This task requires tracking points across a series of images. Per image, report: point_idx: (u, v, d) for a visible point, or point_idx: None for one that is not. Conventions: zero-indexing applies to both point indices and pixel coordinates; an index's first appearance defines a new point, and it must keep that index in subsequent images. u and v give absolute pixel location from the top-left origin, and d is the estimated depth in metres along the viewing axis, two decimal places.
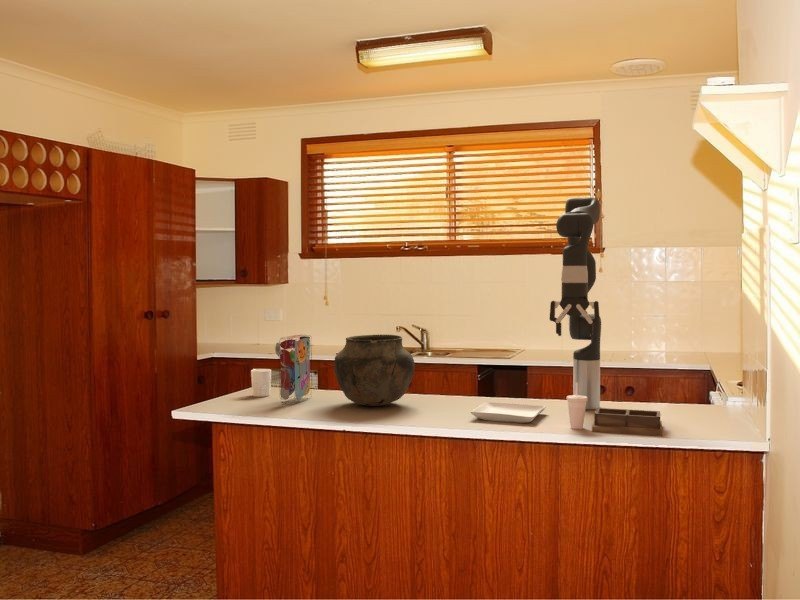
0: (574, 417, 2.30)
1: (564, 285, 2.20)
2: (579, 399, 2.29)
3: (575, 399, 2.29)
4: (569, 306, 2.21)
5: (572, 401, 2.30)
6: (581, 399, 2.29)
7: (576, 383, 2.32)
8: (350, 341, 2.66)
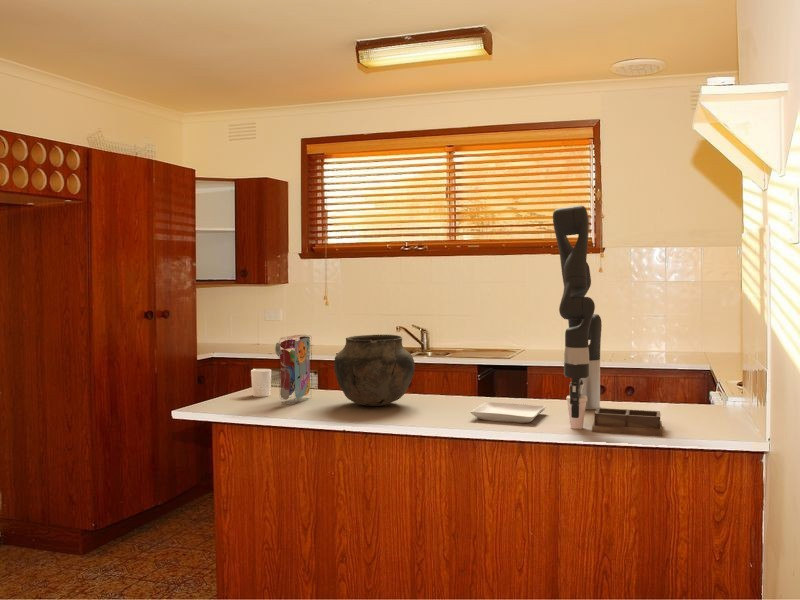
0: None
1: (585, 366, 2.28)
2: (579, 399, 2.29)
3: (575, 399, 2.29)
4: (582, 386, 2.30)
5: None
6: (581, 399, 2.29)
7: None
8: (350, 341, 2.66)
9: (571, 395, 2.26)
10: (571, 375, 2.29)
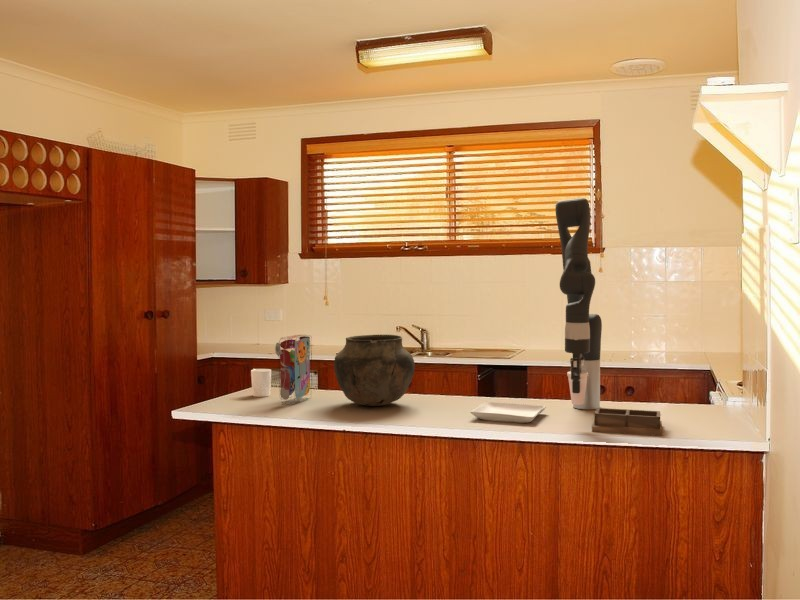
0: (575, 393, 2.30)
1: (585, 342, 2.28)
2: (580, 375, 2.29)
3: (576, 375, 2.29)
4: (583, 361, 2.30)
5: None
6: (582, 375, 2.29)
7: None
8: (350, 341, 2.66)
9: (572, 370, 2.26)
10: (572, 350, 2.28)
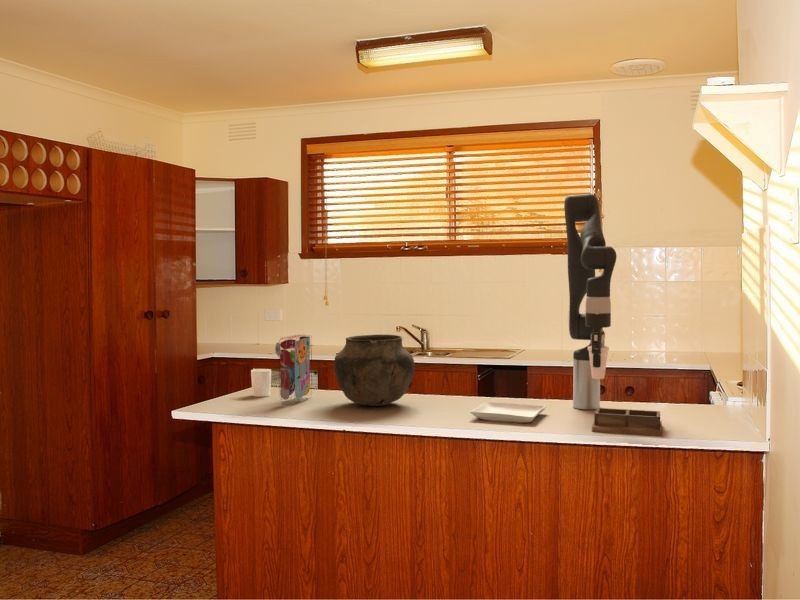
0: (595, 367, 2.30)
1: (606, 316, 2.28)
2: None
3: (596, 349, 2.29)
4: (604, 335, 2.30)
5: None
6: (602, 349, 2.29)
7: None
8: (350, 341, 2.66)
9: (593, 344, 2.26)
10: (593, 324, 2.28)
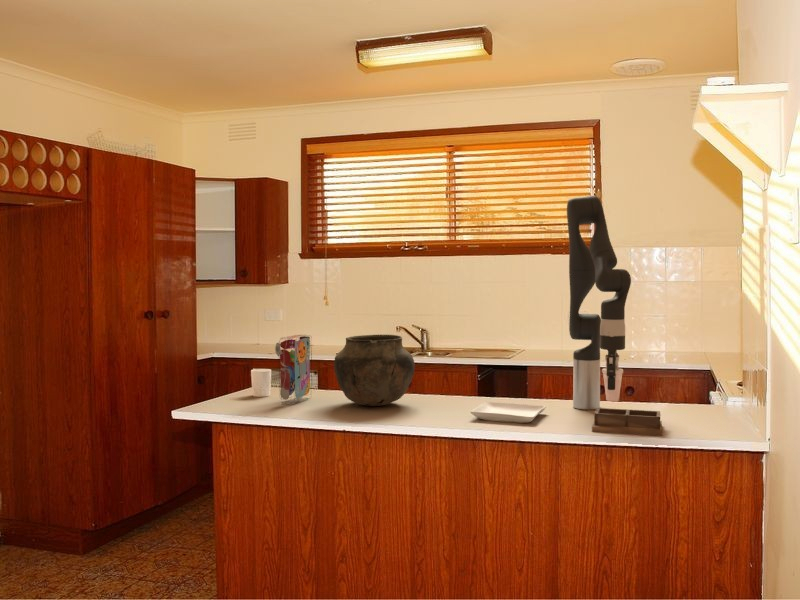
0: None
1: (621, 338, 2.28)
2: None
3: (611, 371, 2.29)
4: (618, 358, 2.30)
5: None
6: (617, 371, 2.29)
7: None
8: (350, 341, 2.66)
9: (608, 367, 2.26)
10: (607, 347, 2.29)
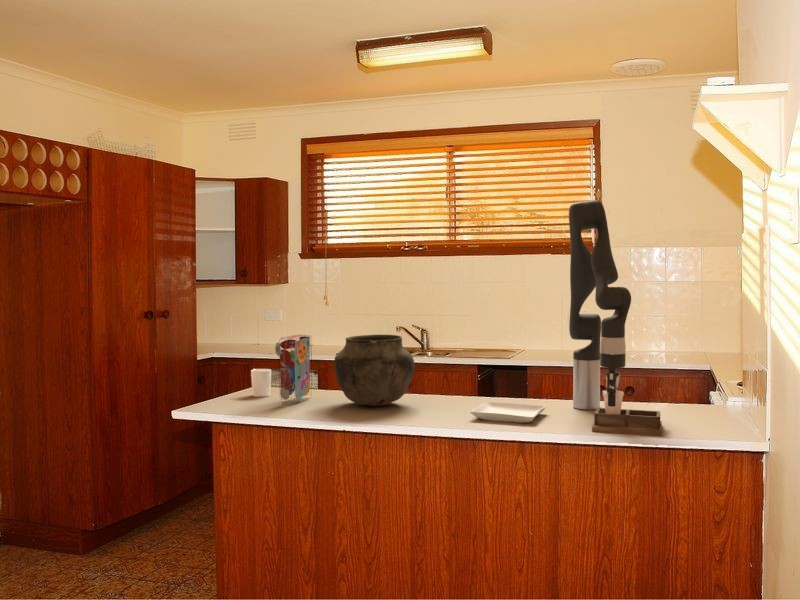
0: (611, 412, 2.31)
1: (621, 356, 2.28)
2: (616, 394, 2.29)
3: None
4: None
5: None
6: (618, 394, 2.29)
7: None
8: (350, 341, 2.66)
9: (608, 383, 2.26)
10: (608, 365, 2.29)
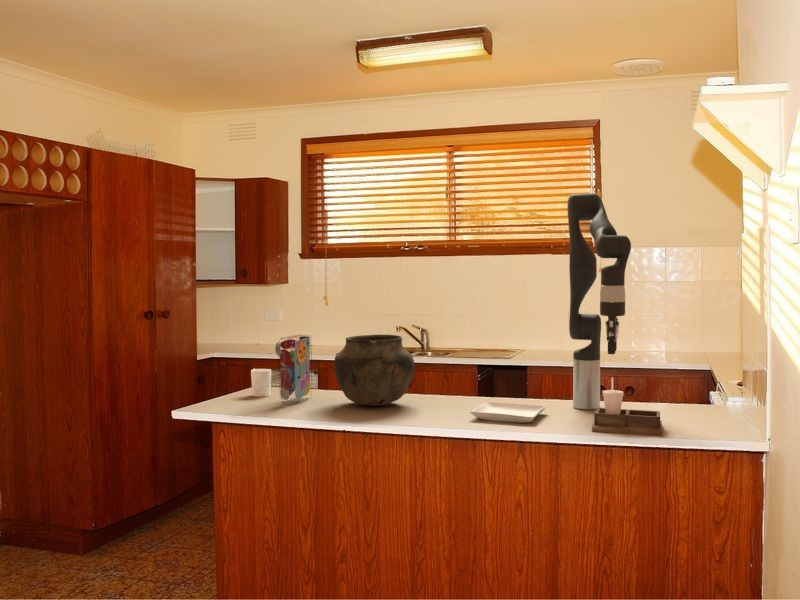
0: (611, 412, 2.31)
1: (621, 304, 2.29)
2: (616, 394, 2.29)
3: (612, 394, 2.30)
4: (618, 324, 2.30)
5: (609, 396, 2.30)
6: (618, 394, 2.29)
7: (612, 378, 2.32)
8: (350, 341, 2.66)
9: (608, 330, 2.26)
10: (608, 313, 2.29)
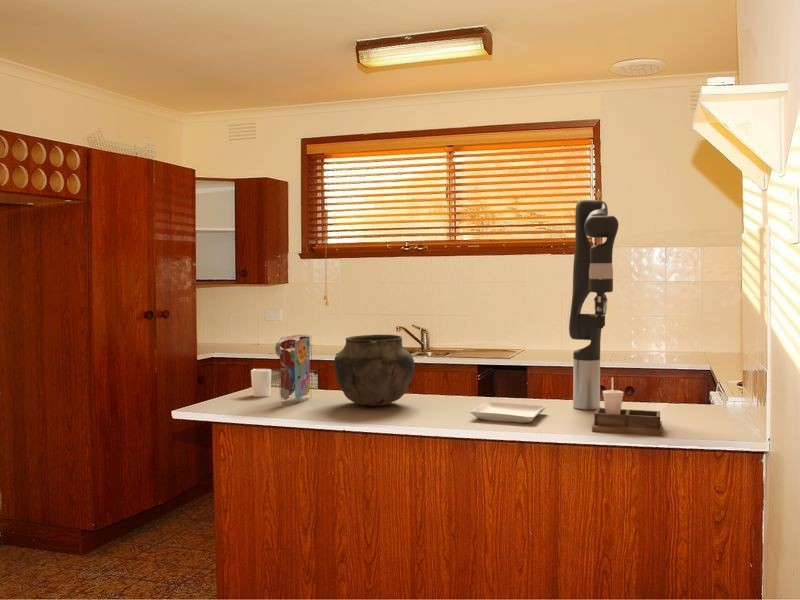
0: (611, 412, 2.31)
1: (609, 281, 2.40)
2: (616, 394, 2.29)
3: (612, 394, 2.30)
4: (606, 300, 2.42)
5: (609, 396, 2.30)
6: (618, 394, 2.29)
7: (612, 378, 2.32)
8: (350, 341, 2.66)
9: (596, 305, 2.38)
10: (596, 289, 2.41)
